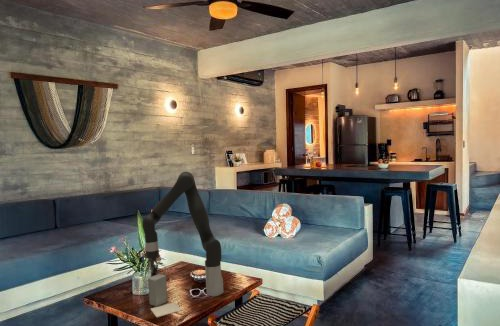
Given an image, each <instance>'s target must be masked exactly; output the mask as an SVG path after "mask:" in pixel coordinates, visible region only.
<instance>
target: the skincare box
mask: <svg viewBox="0 0 500 326" xmlns="http://www.w3.org/2000/svg"><path fill="white" fill-rule="evenodd" d="M147 283H148V299H149V301H148V302H149V305H150V306H153V307H154V308H155V307H159V306H162V305H164V304H166V303H167V302H168V291H167V288H168V287H167V276H166V275H165V274H162V273H156V275H154V276H152V275H151V276H150V277H148V278H147Z"/></svg>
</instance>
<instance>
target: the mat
mask: <svg viewBox="0 0 500 326" xmlns="http://www.w3.org/2000/svg"><path fill="white" fill-rule="evenodd" d="M150 311H151V313H152V314H154V316H155V318H160V317H163V316H167V315H170V314H171V315H172V314H175V313H178V312H182V311H183V308H181V307H180V305H178V304H177V302H171V303H165V304H161V305H159V306H157V307H155V306H154V307H151V308H150Z"/></svg>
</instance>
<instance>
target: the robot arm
mask: <svg viewBox="0 0 500 326" xmlns="http://www.w3.org/2000/svg"><path fill="white" fill-rule="evenodd" d="M183 194H185V197H186V200H187V201H186V203H187V206H188V210H189V214H190V217H191V218H192V219H191V220H192V221H193V224H194V226H195V228H196V230H197V232H198V235H199V238H200V242H201V245H202V248H203V250H204V251H205V256H206V258H205V260H204V269H205V270H204V271H205V290H206V295H207V296H209V297H217V296H221V295H222V294H224V278H223V276H222V267H221V266H222V265H221V263H222V245H221V242H220V241H219V240H218V239H216V238H215V236H214V234H213V231H212V230H211V227H210V226H211V225H210V221H209V214H208V211H207V209H206V207H205V204H204V202H203V200H202V197H201V196H200V194H199V191H198V189H197V185H196V181H195V176H194V175H193V173H191V172H190V171H183V172H181V173H180V174H179V175H178V177H177V180H176V181H175V183H174V185H173V186H172V188H171V189H170V190H169V191H168V192H167V193H166V194H165V195H164V196H163V197H162V198H161V199H160V200H159V201H158V202H157V203H156V205H155V206H154V207H153V209H152V210H151V211H150V213H149V214H148V215H146V216H144V217H143V219H142V222H141V223H142V229H143V233H144V244H145V245H144V250H145V252H144V253H145V258H146V259H148V260H147V262H148V267H149V270H150V272H151V273H150V274H151V277H152V276H154V275H157V272H158V268H159V265H158V260H157V258H159V257H160V251H159V249H160V248H159V247H160V246H159V239H158V232H157V231H156V227H155V226H156V225H157V224H158V223H159V221H160V220H161V219H162V217H163V216H164V215H165V214H166V213H167V212H168V211H169V210H170V209H171V207H172V206H173V205H174V203H175V202H176V201H177V200H178V199H179V198H180V197H181V196H182V195H183Z"/></svg>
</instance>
